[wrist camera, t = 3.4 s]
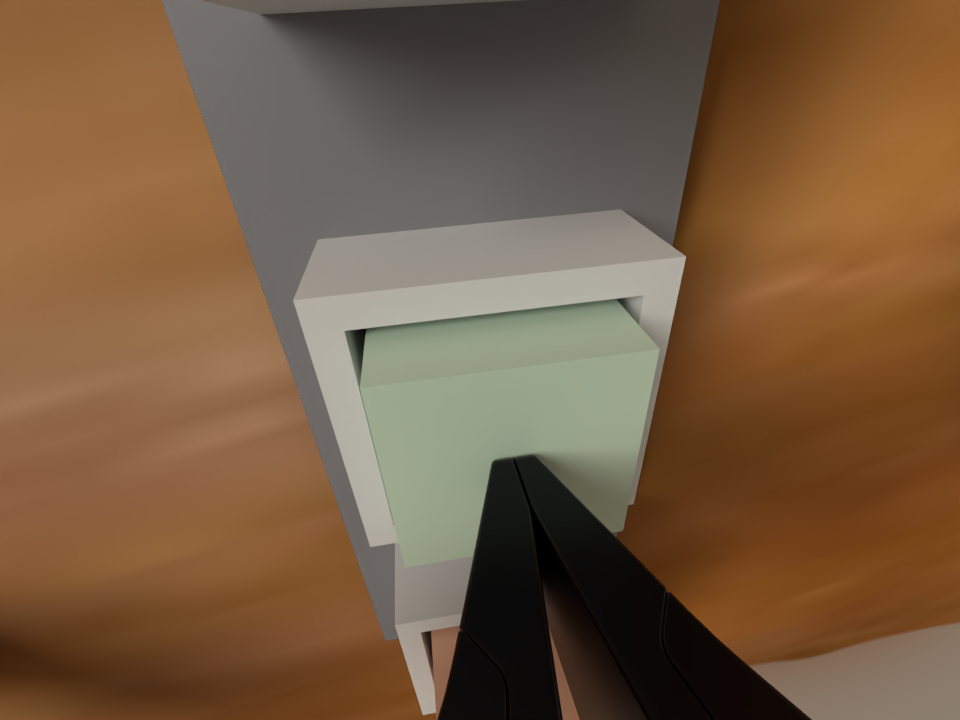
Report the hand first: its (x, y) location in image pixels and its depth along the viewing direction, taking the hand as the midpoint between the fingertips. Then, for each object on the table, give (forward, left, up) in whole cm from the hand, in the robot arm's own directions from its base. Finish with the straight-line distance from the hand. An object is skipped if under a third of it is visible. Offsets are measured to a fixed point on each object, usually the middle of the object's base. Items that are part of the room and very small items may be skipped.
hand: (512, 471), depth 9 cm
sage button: (0, 0, -4) cm, 4 cm away
